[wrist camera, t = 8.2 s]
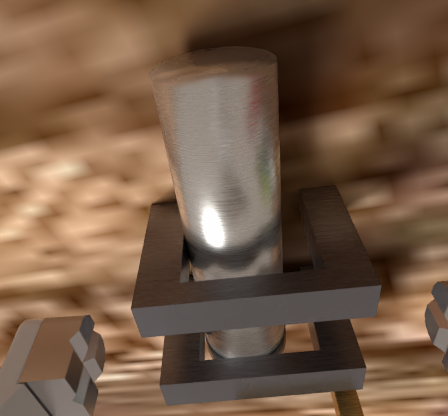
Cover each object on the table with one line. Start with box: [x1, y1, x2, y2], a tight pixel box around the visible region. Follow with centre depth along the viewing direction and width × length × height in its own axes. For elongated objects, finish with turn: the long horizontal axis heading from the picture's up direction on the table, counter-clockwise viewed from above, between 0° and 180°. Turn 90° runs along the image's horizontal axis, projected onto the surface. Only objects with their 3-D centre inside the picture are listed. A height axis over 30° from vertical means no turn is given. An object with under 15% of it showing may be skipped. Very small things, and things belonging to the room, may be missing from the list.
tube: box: [150, 46, 286, 360], centre depth 21 cm, size 18×5×5 cm, turn 6°
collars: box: [131, 186, 382, 416], centre depth 22 cm, size 11×10×9 cm
